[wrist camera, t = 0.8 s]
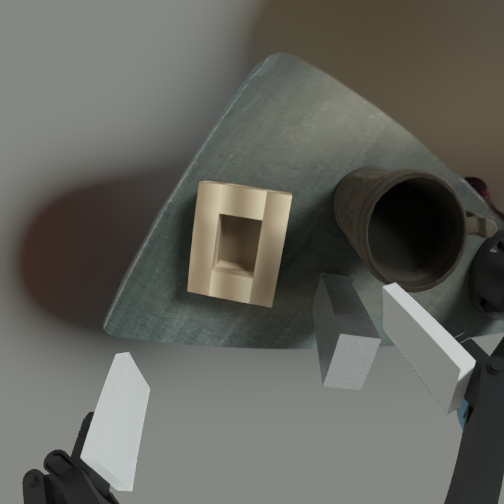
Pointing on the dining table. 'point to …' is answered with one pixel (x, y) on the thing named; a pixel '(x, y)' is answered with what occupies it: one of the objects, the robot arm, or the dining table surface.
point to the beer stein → (406, 225)
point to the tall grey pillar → (343, 333)
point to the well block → (238, 242)
